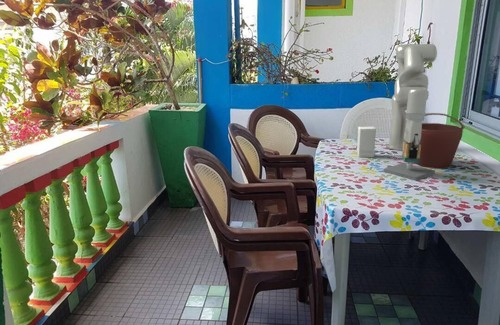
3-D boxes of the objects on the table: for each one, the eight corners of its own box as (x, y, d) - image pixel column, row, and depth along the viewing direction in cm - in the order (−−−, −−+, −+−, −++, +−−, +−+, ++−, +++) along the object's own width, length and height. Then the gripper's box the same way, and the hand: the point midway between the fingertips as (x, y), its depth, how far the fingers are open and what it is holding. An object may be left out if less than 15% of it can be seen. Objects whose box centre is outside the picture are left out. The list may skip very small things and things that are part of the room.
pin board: (402, 165, 186) (404, 152, 184) (434, 173, 173) (436, 159, 172) (383, 171, 177) (384, 158, 175) (415, 180, 164) (417, 166, 163)
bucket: (402, 165, 186) (407, 114, 179) (407, 155, 205) (412, 109, 198) (458, 172, 175) (467, 118, 168) (458, 161, 194) (466, 112, 187)
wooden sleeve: (401, 158, 177) (403, 141, 175) (415, 159, 176) (417, 142, 174) (404, 162, 171) (406, 144, 169) (419, 162, 170) (421, 145, 168)
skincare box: (371, 154, 207) (374, 126, 203) (374, 157, 201) (376, 128, 196) (356, 154, 208) (358, 126, 204) (358, 157, 201) (360, 128, 197)
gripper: (401, 114, 177) (397, 151, 182) (411, 119, 160) (406, 161, 165) (418, 114, 176) (414, 152, 181) (430, 120, 159) (425, 161, 164)
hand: (410, 156), depth 173 cm, fingers closed on wooden sleeve, 6 cm apart
